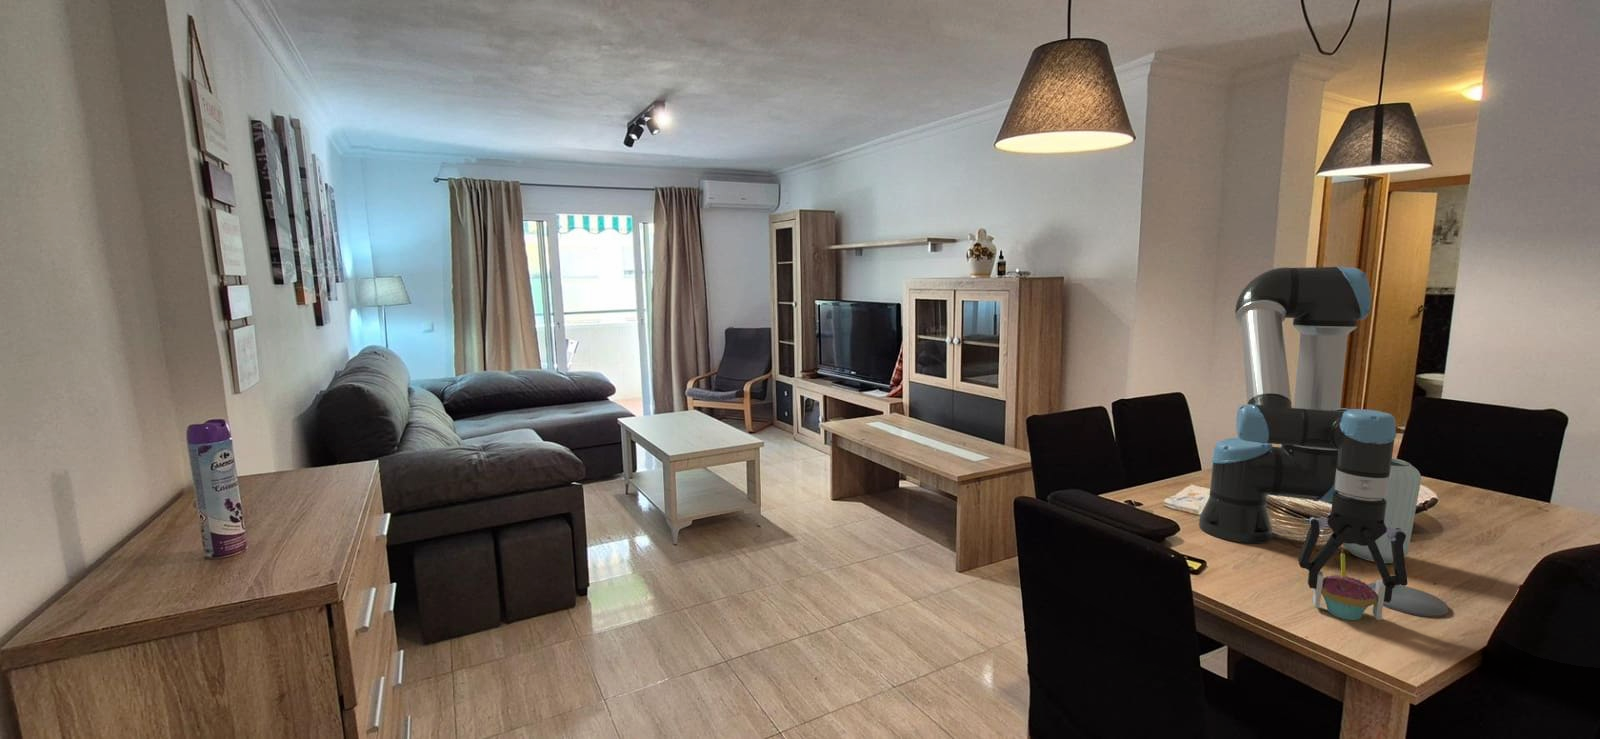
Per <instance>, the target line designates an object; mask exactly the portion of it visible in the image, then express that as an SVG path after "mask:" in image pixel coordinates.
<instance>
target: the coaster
mask: <svg viewBox="0 0 1600 739" xmlns="http://www.w3.org/2000/svg"><path fill="white" fill-rule="evenodd" d="M1367 585H1368V586H1369V587H1371V588H1372V589H1373V591H1375V589H1376V582H1373V583H1369V584H1367ZM1383 607H1385V608H1389V609H1391V610H1393V611H1396V612H1397V611H1398V612H1400V613H1404V614H1409V615H1413V616H1418V617H1419V616H1420V617H1427V618H1428V617H1429V618H1439V617H1444V616H1446V615H1447V614H1448V611H1449V606H1448V604H1447V602H1445V601H1443V600H1442V599H1441V598H1438V596H1436V595H1433V594H1431V593H1428V592H1426V591H1423V590H1420V589H1417V588H1413V587H1410V586H1407V585H1405V586H1403V585H1395V587H1394V588H1393V590H1392V597H1391V601H1390V602H1383Z"/></svg>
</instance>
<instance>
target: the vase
mask: <svg viewBox="0 0 1600 739" xmlns="http://www.w3.org/2000/svg"><path fill="white" fill-rule="evenodd" d="M1421 482H1422V475H1421V473H1420V471H1419V470H1418V469H1417V468H1416V467H1415V466H1413V465H1412V464H1411V463H1410V462H1407V461H1405V460H1402V459H1398V458H1393V457H1392V461H1391V469H1390V476H1389V484H1388V493H1387V497H1385V498H1384V499H1385V501H1386V510H1385V518H1384V524H1385V526H1386V527H1389V528H1393V529H1396V528H1400V529H1401V530H1402V531H1403V532H1404V533H1405V534H1406V538H1405V541H1404V544H1403V550H1404V558H1406V557H1407V555H1408V554H1409V548H1410V543H1411V536H1412V532H1413V526H1414V520H1415V516H1416V510H1417V504H1418V499H1419V493H1420V488H1421ZM1375 542H1376V544H1377V547H1378V549H1379V551H1380V554H1381V556H1382V558H1383V560H1384V563H1385V564H1394V563H1393V555H1392V547H1391V540H1390V539H1389V538H1388V536H1387V534H1386V533H1385V534H1384V535H1382V536H1381V537H1380V538H1378V539H1377V540H1376V541H1375ZM1342 545H1343V547H1344V548H1346V550H1347V551H1349V552H1350V553H1351V554H1352V555H1353V556H1356V557H1358V558H1359V559H1363V560H1366V561H1369V562H1374V563H1375V561H1374V559H1373V557H1372V555H1371V553H1370V550H1369V548H1368V546H1367V545H1366V546H1361V545H1358V544H1348V543H1343V544H1342Z"/></svg>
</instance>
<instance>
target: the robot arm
mask: <svg viewBox="0 0 1600 739" xmlns="http://www.w3.org/2000/svg"><path fill="white" fill-rule="evenodd" d="M1368 280H1369V279H1368V277H1367V275H1366V274H1365V272H1364V271H1363V270H1361V268H1360V269H1359V268H1357V267H1345V266H1343V267H1342V266H1322V267H1321V266H1320V267H1319V266H1318V267H1313V266H1312V267H1289V266H1288V267H1286V266H1285V267H1278V268H1274V269H1273V268H1272V269H1270V270H1267V271H1265V272H1263V273H1261V274H1259V275H1258V276H1255V277H1254V278H1253V279H1252V280H1250V281H1249V283H1248V284H1246V286H1245V287H1244V288H1243V289H1242V291H1241V293H1240V294H1239V296H1238V298H1237V300H1236V301H1237V302H1236V304H1235V309H1234V312H1235V321H1236V323H1237V324H1238V325H1239V327H1241V334H1242V335H1241V337H1242V348H1243V350H1242V351H1243V362H1244V376H1245V390H1246V392H1245V393H1246V404H1241V405H1239V407H1238V409H1237V412H1236V420H1235V421H1236V422H1235V423H1236V424H1235V428H1236V430H1235V431H1236V435H1237V437H1229V438H1225V439H1222V440H1219V441H1217V443H1215V445H1214V447H1213V451H1212V452H1213V454H1212V457H1211V462H1212V466H1211V475H1210V476H1211V478H1210V487H1209V497H1208V499H1207V501H1206V502H1205V505H1204V507H1203V509H1202V511H1201V513H1200V516H1199V519H1198V520H1199V521H1198V527H1199V529H1201V531H1203V532H1205V533H1206V534H1209V535H1210V536H1213V537H1216V538H1219V539H1223V540H1228V541H1233V542H1235V543H1236V542H1238V543H1246V544H1261V543H1267V542H1269V541H1271V540H1272V535H1273V527H1272V522H1271V520H1270V517H1269V513H1268V510H1267V497H1268V496H1277V497H1283V498H1284V497H1286V498H1293V499H1301V500H1309V501H1312V502H1319V501H1320V502H1329V503H1330V502H1331V508H1330V509H1331V511H1330V514H1329V515H1328V516H1327V517H1325V518H1323V517H1320V518H1319V517H1318V518H1317V517H1316V516H1313V515H1311V516H1309V518H1308V522H1309V529H1308V532H1307V534H1306V537H1305V539H1304V543H1303V544H1302V548H1301V550H1300V553H1299V556H1298V558H1297V559H1298V560H1297V562H1298V564H1299V567H1300V568H1302V569H1305V570H1307V571H1308V577H1307V584H1308V586H1309V589H1313V593H1312V594H1313V595H1312V603H1313V605H1314V608H1318V609H1320V608H1321V603H1322V602H1321V599H1322V594H1321V590H1322V584H1323V578H1324V573H1323V572H1322V569H1323V568H1324V566H1325V565H1326V563H1328V561H1330V559H1331V557H1332V556H1333V555H1334V554H1335V553H1336V551H1337V550H1338V549H1339V548H1340V547H1342V545H1343V543H1348V544H1358V545H1361V546H1366V545H1367V546H1368V548H1369V550H1370V553H1371V555H1372V557H1373V559H1374V561H1375V562H1374V563H1375V565H1376V567H1377V568H1376V569H1377V571H1378V573H1379V575H1380V577H1381V579H1382V580H1380V579H1376V580H1375V581H1376V582H1375V583H1376V589H1375V592H1376V594H1377V597H1378V600H1377V603H1376V604H1374V605H1372V606H1373V607H1372V614H1373V617H1374V618H1375V620H1379V621H1382V617H1383V616H1382V615H1383V609H1384V606H1383V602H1390V601H1391V597H1392V590H1393V588H1394V587H1395V585H1402V586H1407V585H1408V577H1407V568H1406V567H1407V566H1406V559H1405V558H1406V557H1405V558H1404V550H1403V544H1404V541H1405V538H1406V534H1405V533H1404V532H1403V531H1402V530H1401V529H1400V528H1396V529H1393V528H1389V527H1386V526H1385V524H1384V518H1385V510H1386V501H1385V499H1384V498H1385V497H1387V493H1388V484H1389V476H1390V469H1391V461H1392V458H1393V452H1394V444H1395V439H1396V437H1397V431H1396V427H1397V425H1396V423H1397V422H1396V421H1397V420H1396V418H1395V416H1394V415H1393V414H1391V413H1388V412H1384V411H1380V410H1376V409H1375V410H1374V409H1362V408H1355V409H1353V408H1352V409H1350V408H1345V407H1343V408H1341V402H1342V391H1343V382H1344V372H1345V362H1346V351H1347V343H1348V335H1349V334H1350V333H1351V332H1354V330H1356V329H1357V328H1358V322H1359V321H1362V320H1365V319H1366V318H1368V316H1369V314H1370V309H1371V303H1372V302H1371V300H1372V298H1371V297H1372V296H1371V289H1370V288H1371V287H1370V283H1369V281H1368ZM1286 319H1292V326H1293V328H1294V329H1296V330H1297V331H1298V333H1299V342H1298V343H1299V344H1298V354H1297V363H1296V364H1297V366H1296V374H1295V375H1296V376H1295V387H1294V398H1293V401H1292V394H1291V387H1290V379H1289V370H1288V363H1287V361H1288V360H1287V352H1286V344H1285V339H1284V338H1285V337H1284V336H1285V335H1284V330H1283V322H1284V321H1285V320H1286ZM1292 402H1293V405H1292ZM1273 444H1275V445H1281V446H1273ZM1327 526H1329V528H1330V529H1331V530H1332V534H1331V535H1329V539H1328V540H1327V541H1326V543H1325V544H1323V546H1322V548H1321V549H1320V550H1319V551H1318V553H1317V554H1316V555H1315V556H1314V558H1313V559H1312V560H1311V558H1312V555H1313V553H1314V550H1315V547H1316V545H1317V542H1318V539H1319V537H1320V536H1319V535H1320V531H1323V530H1324V529H1325V527H1327ZM1385 533H1386V534H1387V536H1388V538H1389V539H1390V540H1391V547H1392V555H1393V563H1392V564H1393V570H1394V574H1393V575H1391V573H1390V572H1389V569H1388V567H1387V565H1386V563H1384V560H1383V558H1382V556H1381V554H1380V551H1379V549H1378V547H1377V544H1376V542H1375V541H1376V540H1377V539H1378V538H1380V537H1381V536H1382V535H1384V534H1385Z"/></svg>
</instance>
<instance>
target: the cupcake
mask: <svg viewBox="0 0 1600 739" xmlns="http://www.w3.org/2000/svg"><path fill="white" fill-rule="evenodd" d="M1340 550H1341V553H1340V570H1341V571H1340V572H1341V573H1340V574H1334V575H1330V576H1329V575H1326V577H1323V584H1322V590H1321V596H1322V597H1323V599H1324V602H1325V604H1326V608H1327V609H1326V610H1327V611H1328V613H1329V614H1331V615H1333V616H1334V617H1337V618H1340V619H1343V620H1348V621H1358V620H1360V619H1361V617H1362V615H1363V614H1364V612H1365V611H1366V610H1367V609H1368V608H1369V607H1371V606H1373V605H1374V604H1376V603H1377V600H1378V597H1377V594H1376V592H1375V591H1373V589H1372V588H1371V587H1369V586H1368V585H1369V584H1367V583H1366V582H1365V581H1362V580H1360V579H1359V578H1358V579H1357V578H1354V577H1350V576H1349V575H1347V574H1346V554H1345V553H1344V549H1342V548H1341V549H1340Z"/></svg>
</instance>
